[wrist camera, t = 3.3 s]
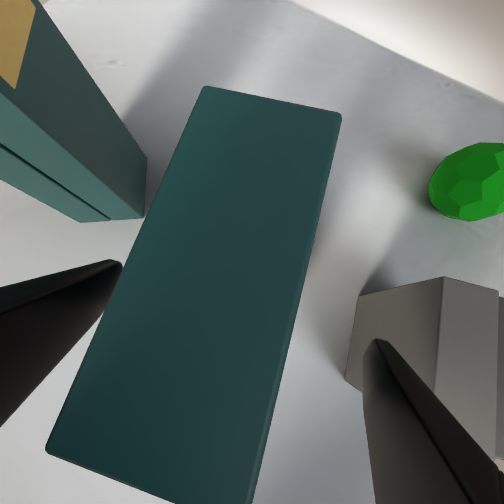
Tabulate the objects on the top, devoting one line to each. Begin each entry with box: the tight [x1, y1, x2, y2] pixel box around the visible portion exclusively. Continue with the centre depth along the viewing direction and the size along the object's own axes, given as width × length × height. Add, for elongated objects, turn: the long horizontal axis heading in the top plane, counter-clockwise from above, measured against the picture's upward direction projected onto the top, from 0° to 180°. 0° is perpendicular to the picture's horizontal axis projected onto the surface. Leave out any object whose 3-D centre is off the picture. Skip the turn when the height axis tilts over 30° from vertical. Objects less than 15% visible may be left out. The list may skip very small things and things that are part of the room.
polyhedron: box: [428, 143, 504, 221], centre depth 16 cm, size 5×5×5 cm
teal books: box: [0, 0, 147, 223], centre depth 13 cm, size 6×5×14 cm
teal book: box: [45, 86, 342, 504], centre depth 10 cm, size 6×2×14 cm, turn 164°
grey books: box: [344, 276, 504, 461], centre depth 12 cm, size 6×4×8 cm
